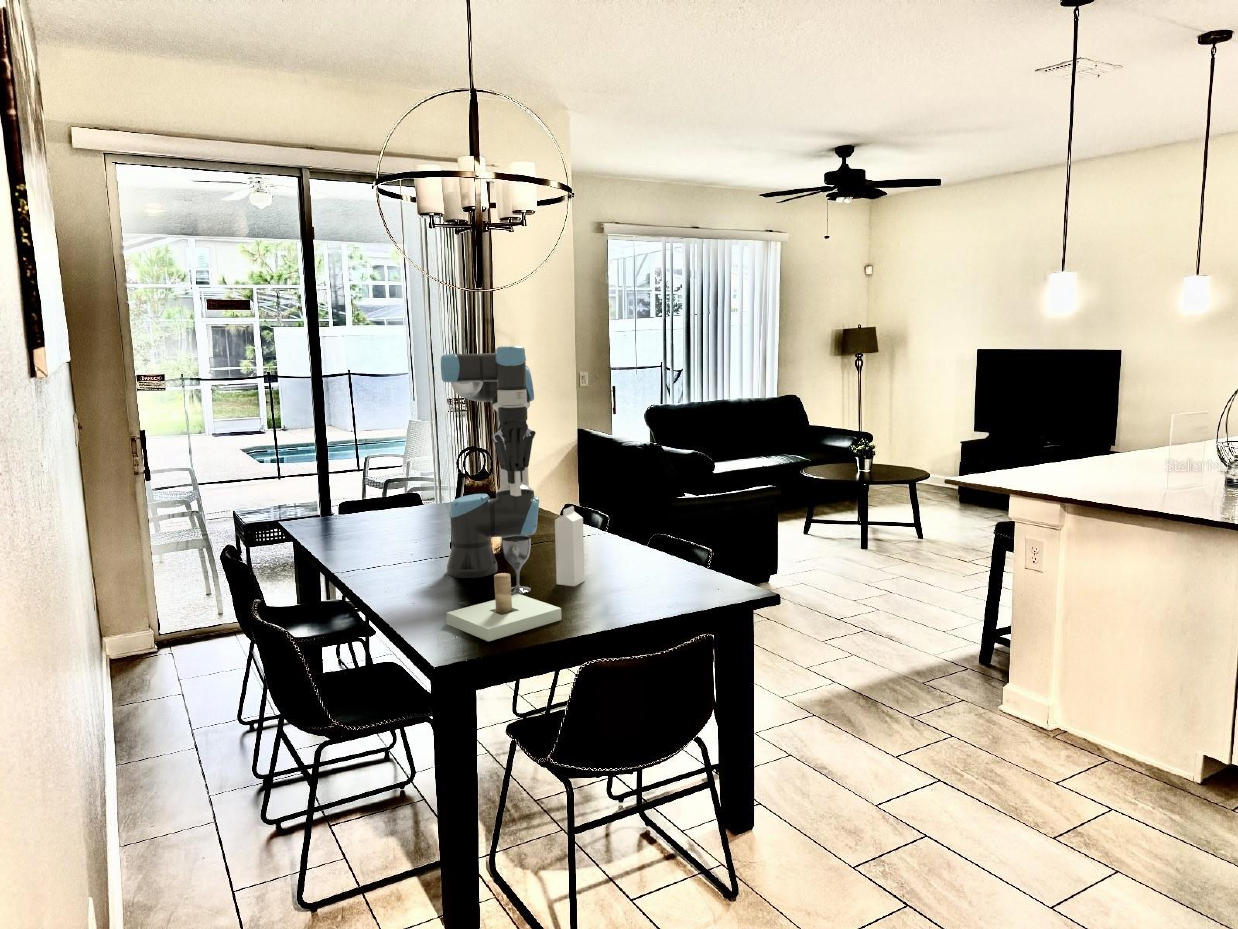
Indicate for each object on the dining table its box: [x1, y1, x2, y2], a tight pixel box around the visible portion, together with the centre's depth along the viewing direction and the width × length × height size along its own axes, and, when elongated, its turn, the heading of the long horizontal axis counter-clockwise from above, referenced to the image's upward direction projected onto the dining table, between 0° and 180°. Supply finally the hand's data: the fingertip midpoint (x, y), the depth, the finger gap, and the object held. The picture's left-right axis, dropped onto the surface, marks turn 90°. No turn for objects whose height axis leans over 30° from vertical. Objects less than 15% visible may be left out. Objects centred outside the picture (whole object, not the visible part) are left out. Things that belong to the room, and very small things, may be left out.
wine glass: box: [501, 535, 532, 595], centre depth 245 cm, size 8×8×15 cm
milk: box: [554, 505, 585, 587], centre depth 251 cm, size 6×6×22 cm
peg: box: [493, 572, 512, 615], centre depth 218 cm, size 4×4×12 cm
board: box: [446, 594, 562, 642], centre depth 219 cm, size 18×22×3 cm
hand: (515, 495), depth 231 cm, fingers closed
